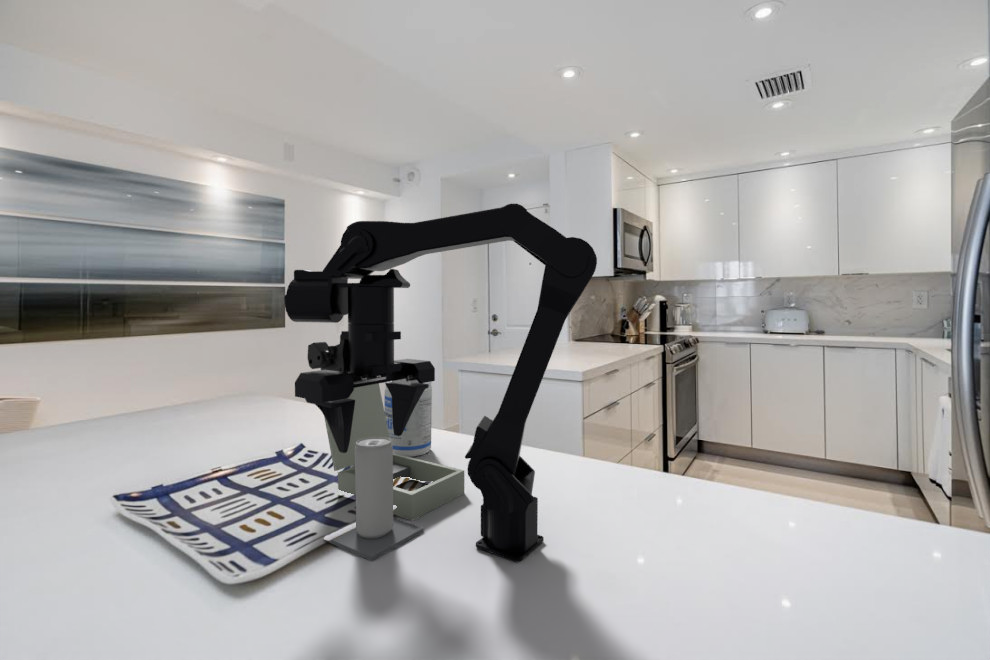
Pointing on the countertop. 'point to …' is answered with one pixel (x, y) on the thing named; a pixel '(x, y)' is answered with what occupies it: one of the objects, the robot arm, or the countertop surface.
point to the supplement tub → (412, 426)
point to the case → (423, 499)
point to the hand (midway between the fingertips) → (372, 443)
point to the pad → (378, 540)
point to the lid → (361, 423)
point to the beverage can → (374, 486)
